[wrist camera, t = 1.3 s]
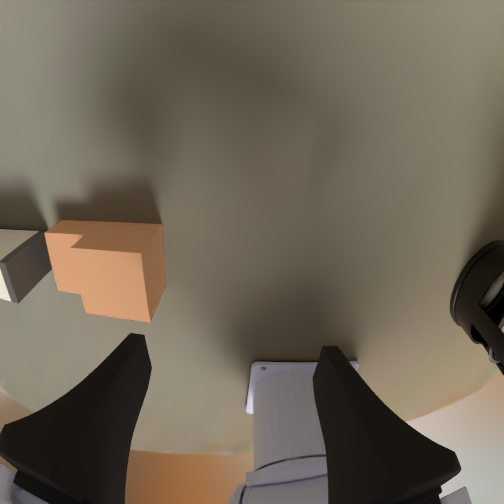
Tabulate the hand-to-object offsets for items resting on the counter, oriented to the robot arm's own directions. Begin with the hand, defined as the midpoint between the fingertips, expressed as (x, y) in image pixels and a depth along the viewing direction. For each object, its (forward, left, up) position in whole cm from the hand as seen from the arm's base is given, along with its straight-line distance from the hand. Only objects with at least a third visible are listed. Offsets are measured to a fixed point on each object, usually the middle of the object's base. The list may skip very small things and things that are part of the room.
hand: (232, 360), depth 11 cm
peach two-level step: (+9, 0, -9) cm, 13 cm away
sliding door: (+22, 0, -8) cm, 24 cm away
